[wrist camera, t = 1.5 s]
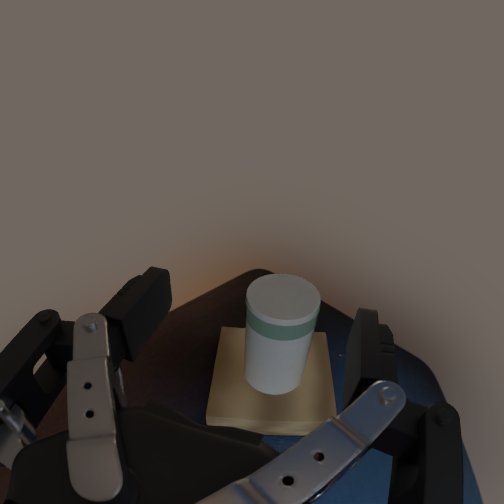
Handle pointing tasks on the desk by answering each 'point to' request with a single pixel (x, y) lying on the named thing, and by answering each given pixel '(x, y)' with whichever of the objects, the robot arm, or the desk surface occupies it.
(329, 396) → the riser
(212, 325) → the desk surface
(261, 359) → the canister
